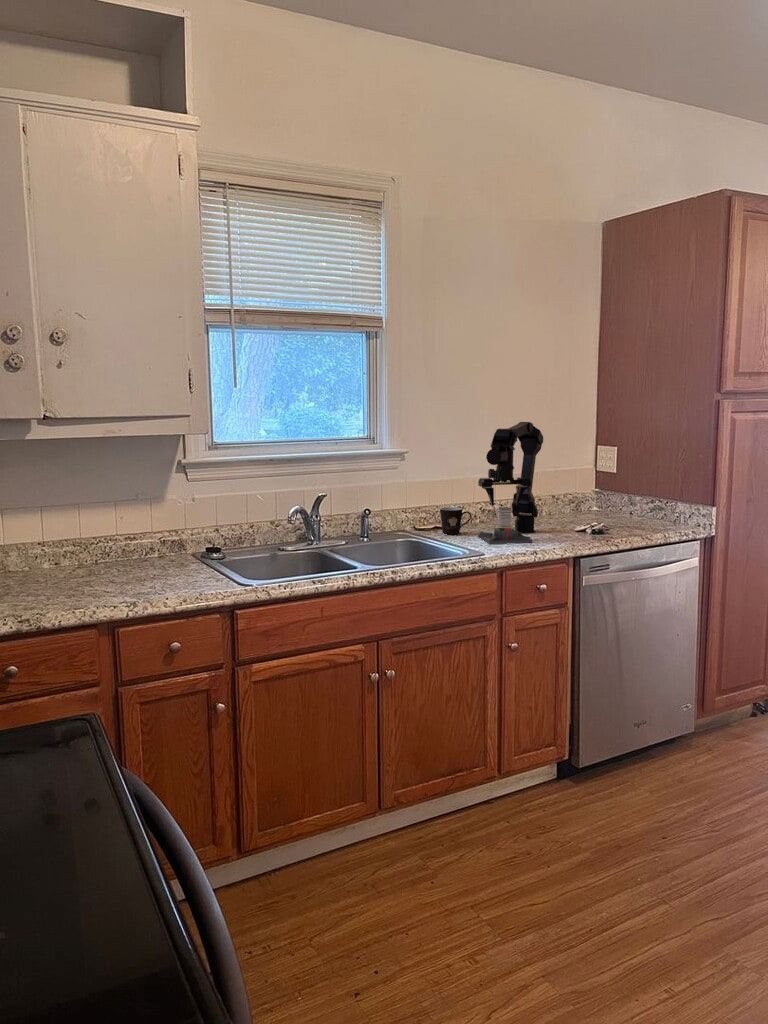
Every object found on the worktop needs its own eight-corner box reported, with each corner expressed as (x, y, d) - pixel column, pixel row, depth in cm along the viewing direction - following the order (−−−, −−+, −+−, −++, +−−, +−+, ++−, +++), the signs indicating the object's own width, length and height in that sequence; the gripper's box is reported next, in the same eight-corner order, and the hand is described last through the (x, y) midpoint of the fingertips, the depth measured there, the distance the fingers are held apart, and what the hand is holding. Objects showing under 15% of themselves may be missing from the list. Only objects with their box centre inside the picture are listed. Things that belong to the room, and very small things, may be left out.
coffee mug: (437, 535, 299) (437, 509, 297) (443, 532, 307) (443, 506, 305) (467, 537, 295) (467, 510, 293) (472, 533, 303) (472, 507, 302)
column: (507, 525, 290) (507, 507, 289) (510, 527, 286) (510, 508, 285) (498, 526, 289) (498, 507, 288) (501, 527, 286) (501, 508, 285)
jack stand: (518, 535, 297) (518, 523, 297) (532, 542, 282) (532, 529, 281) (477, 536, 295) (477, 524, 294) (489, 544, 279) (489, 531, 279)
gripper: (522, 461, 294) (522, 502, 296) (474, 462, 291) (474, 503, 293) (532, 463, 283) (531, 506, 285) (482, 464, 280) (482, 507, 282)
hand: (504, 505), depth 286 cm, fingers open, 9 cm apart
